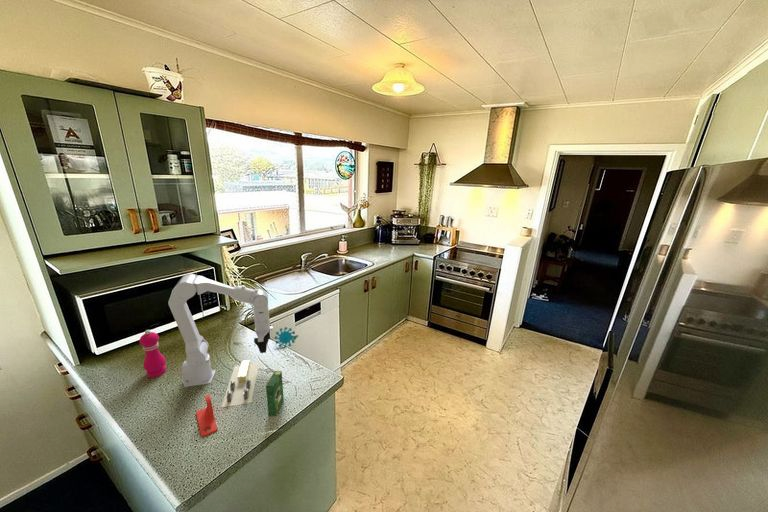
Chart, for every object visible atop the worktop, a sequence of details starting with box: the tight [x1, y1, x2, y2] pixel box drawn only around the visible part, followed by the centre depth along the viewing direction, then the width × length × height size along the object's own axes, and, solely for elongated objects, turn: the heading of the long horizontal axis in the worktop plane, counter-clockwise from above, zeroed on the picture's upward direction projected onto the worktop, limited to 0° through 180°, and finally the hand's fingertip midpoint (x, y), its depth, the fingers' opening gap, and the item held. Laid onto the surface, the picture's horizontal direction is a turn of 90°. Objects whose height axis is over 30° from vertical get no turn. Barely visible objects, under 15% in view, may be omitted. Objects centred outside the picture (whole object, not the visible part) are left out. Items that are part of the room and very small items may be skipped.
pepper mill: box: [139, 329, 167, 378], centre depth 117 cm, size 7×7×20 cm
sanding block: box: [238, 359, 251, 383], centre depth 120 cm, size 3×10×3 cm, turn 15°
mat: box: [221, 362, 260, 408], centre depth 116 cm, size 10×23×1 cm, turn 15°
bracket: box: [195, 394, 218, 437], centre depth 97 cm, size 12×4×8 cm, turn 39°
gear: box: [274, 326, 299, 349], centre depth 143 cm, size 11×6×10 cm
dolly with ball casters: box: [227, 378, 251, 402], centre depth 110 cm, size 7×8×3 cm
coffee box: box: [265, 370, 285, 417], centre depth 104 cm, size 8×3×13 cm, turn 178°
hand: (264, 347), depth 124 cm, fingers open, 7 cm apart
